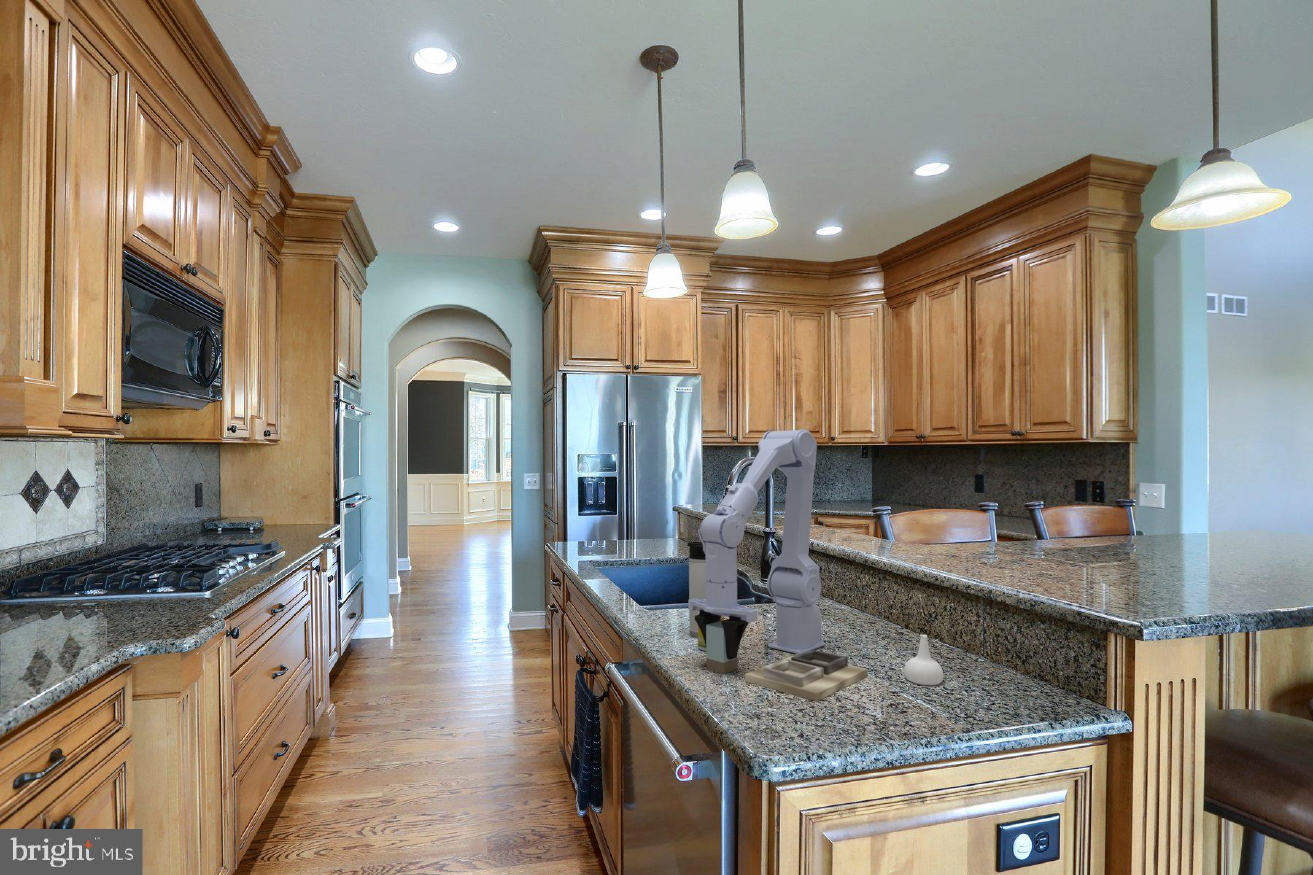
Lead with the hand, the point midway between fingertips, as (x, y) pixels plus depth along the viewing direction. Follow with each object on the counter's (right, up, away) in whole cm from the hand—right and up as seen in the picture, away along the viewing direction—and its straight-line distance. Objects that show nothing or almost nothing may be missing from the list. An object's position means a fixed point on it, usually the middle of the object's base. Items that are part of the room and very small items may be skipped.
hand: (721, 655), depth 121 cm
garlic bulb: (+34, -2, -7) cm, 35 cm away
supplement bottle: (-1, -3, +13) cm, 14 cm away
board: (+14, -2, -6) cm, 15 cm away
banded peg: (0, -2, 0) cm, 2 cm away
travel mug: (-2, -4, +24) cm, 24 cm away
